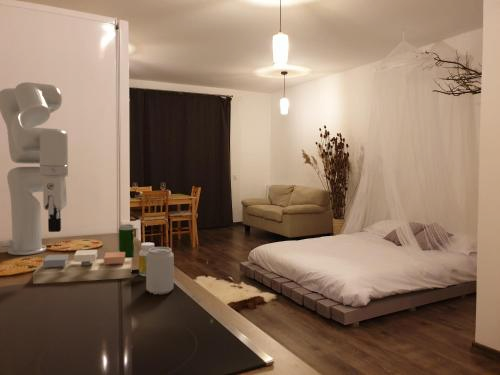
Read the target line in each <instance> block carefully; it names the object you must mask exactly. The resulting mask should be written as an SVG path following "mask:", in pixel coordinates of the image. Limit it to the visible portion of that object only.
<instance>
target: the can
mask: <svg viewBox="0 0 500 375" xmlns="http://www.w3.org/2000/svg"><path fill="white" fill-rule="evenodd" d="M174 255H175V254H174V252H172V248H171V247H167V246H154V248H151V249H149V253H148V254H147V255H146V276H145V277H146V279H145V280H146V281H145V282H146V285H145V287H146V291H147V292H149V293H150V294H151V293H153V294H152V295H157V294H159V295H165V294H169V293H170V292H172V290H173V289H174V287H175V286H174V282H175V280H174V276H175V275H174V273H175V272H174V265H175V264H174V263H175V261H174V260H175V259H174V257H175V256H174Z"/></svg>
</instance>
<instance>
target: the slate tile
mask: <svg viewBox="0 0 500 375" xmlns="http://www.w3.org/2000/svg"><path fill="white" fill-rule="evenodd" d="M68 261H70V260H69V254H67V253H66V254H49V255H46V256H45V258H44V259H43V260H42V262H43V267H51V268H61V266H66V264H67V262H68Z"/></svg>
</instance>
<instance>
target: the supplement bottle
mask: <svg viewBox="0 0 500 375" xmlns="http://www.w3.org/2000/svg"><path fill="white" fill-rule="evenodd" d="M140 246H141V250H139V253H138V273H139V275H140V276H142V277H146V255H147V254H148V253H149V249H151V248H154V247H155V243H154V242H142V243H140Z"/></svg>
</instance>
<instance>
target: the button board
mask: <svg viewBox="0 0 500 375" xmlns="http://www.w3.org/2000/svg"><path fill="white" fill-rule="evenodd" d="M132 268H133V259H132V258H125V263H119V265H111V264H104V258H98V259H97V258H96V261H91V264H90V265H82V264H81V262H74V259H73V260H69V261H68V262H67V264H66V266H61V268H51V267H43V261H42V262H41V264H39V266H38V267H37V268H36V269H35V271H34V272H33V273H32V276H33V277H32V278H33V280H32V281H33V282H32V283H33V285H34V284H51V283H70V282H81V281H82V282H83V281H98V280H101V281H102V280H115V279H116V280H117V279H131V278H132V273H133V272H132V270H133V269H132ZM131 272H132V273H131Z"/></svg>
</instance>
